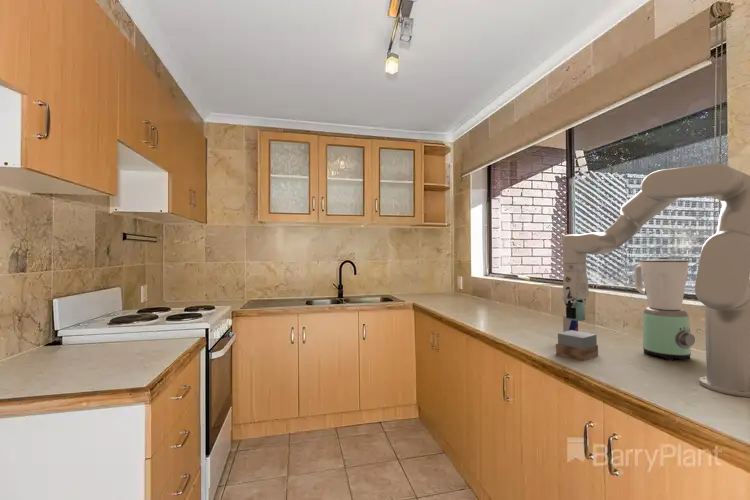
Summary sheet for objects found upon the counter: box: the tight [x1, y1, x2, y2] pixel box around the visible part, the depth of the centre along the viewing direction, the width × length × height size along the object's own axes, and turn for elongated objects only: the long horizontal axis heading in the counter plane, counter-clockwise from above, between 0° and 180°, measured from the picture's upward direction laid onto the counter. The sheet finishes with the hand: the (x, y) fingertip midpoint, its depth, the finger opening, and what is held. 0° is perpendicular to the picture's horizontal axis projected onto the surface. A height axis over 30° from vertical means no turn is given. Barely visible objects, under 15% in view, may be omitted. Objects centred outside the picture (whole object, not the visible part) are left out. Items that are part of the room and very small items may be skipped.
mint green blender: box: [633, 256, 696, 362], centre depth 124 cm, size 19×13×35 cm
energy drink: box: [562, 313, 579, 332], centre depth 140 cm, size 5×5×12 cm
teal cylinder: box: [566, 301, 586, 322], centre depth 127 cm, size 6×6×6 cm
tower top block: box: [557, 330, 598, 349], centre depth 127 cm, size 9×9×4 cm
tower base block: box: [555, 343, 599, 361], centre depth 127 cm, size 10×10×4 cm
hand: (575, 316), depth 127 cm, fingers closed on teal cylinder, 6 cm apart
